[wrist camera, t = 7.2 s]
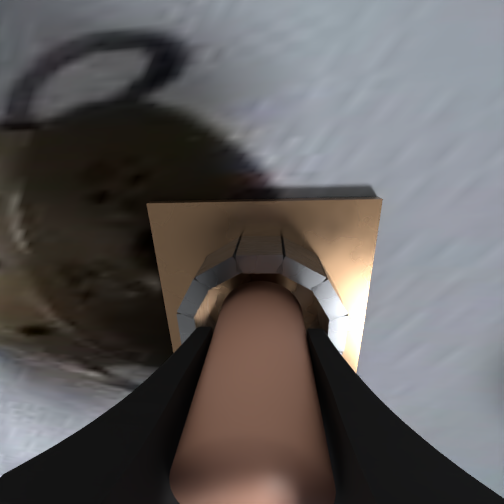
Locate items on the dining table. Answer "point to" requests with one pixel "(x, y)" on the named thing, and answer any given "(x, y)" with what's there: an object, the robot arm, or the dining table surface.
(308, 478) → the rail post
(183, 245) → the cup bracket
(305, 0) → the dining table surface
